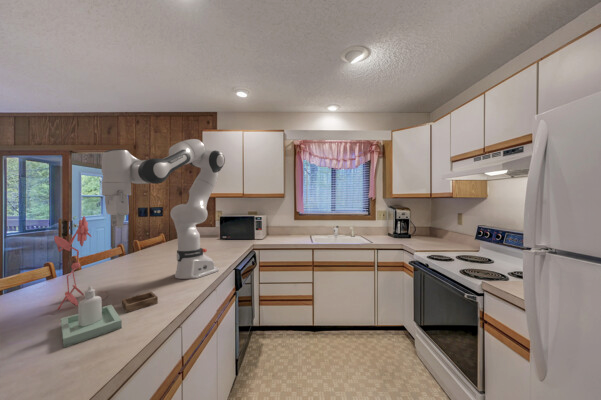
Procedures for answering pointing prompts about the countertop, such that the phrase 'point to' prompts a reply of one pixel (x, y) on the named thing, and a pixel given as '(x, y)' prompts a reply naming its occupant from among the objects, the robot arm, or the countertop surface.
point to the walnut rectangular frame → (139, 301)
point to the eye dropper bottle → (89, 308)
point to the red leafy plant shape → (64, 244)
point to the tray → (89, 327)
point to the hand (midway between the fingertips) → (117, 226)
